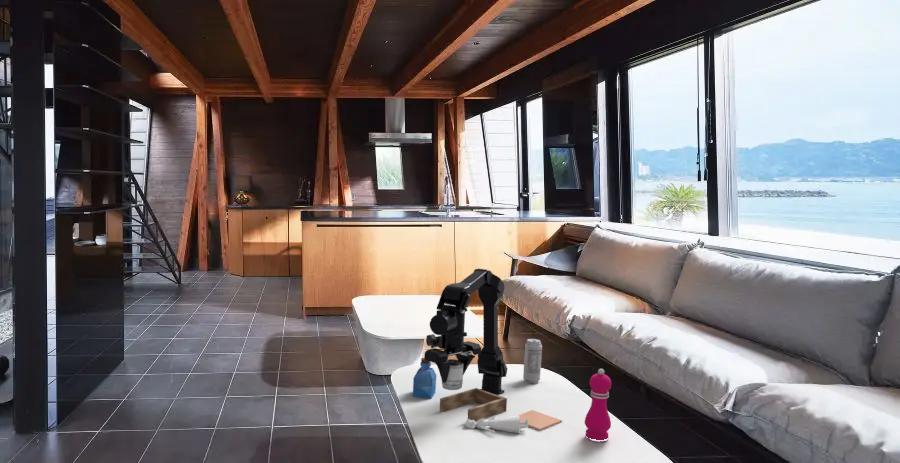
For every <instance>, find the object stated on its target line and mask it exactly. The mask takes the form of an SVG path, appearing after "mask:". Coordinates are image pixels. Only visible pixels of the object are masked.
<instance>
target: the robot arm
mask: <svg viewBox="0 0 900 463" xmlns="http://www.w3.org/2000/svg"><path fill="white" fill-rule="evenodd" d="M476 291H477V295H478V299H479V301H480V302H481V304H482V306H483V308H482V309H483V310H482V311H483V312H482V313H483V319H482V320H483V322H482V323H483V326H482V327H483V346H481V345H480V344H479V343H477V342H473V341H470V340H467V341H465V340H464V339H465V337H467V336H468V332H466V331H465V322H466V321H465V320H466V319H465V318H466V312H468V308H467V306H468V305H469V303H470V302H471V301H472V300H471V299H472V298H471V296H472V295H473V294H474V293H475V292H476ZM504 291H505V283H504V281H503V280H502V278H501V277H499V276H497V275H496V274H494V273H493V272H492V271H491V270H489V269H487V268H475V269H474V270H473V272H472V273H470V274H469V275H468V276H467V277H465V278H464V279H463V280H461V281H460V282H454V283H450V284H447V285H446V286H445V287H444V289H443V290H442V291H441V292H442V293H441V294H440V297H439V300H438V304H437V306H436V314H435V315H433V316H432V317H431V319H430V321H429V328H430V330H431V331H432V333H433V334H427V335H426V339H425V342H426V346H427V347H430V348H431V349H427V350H426V351H424V357H423V358H424V360H427V361H430V362H431V363H434V364H436V368H437V369H438V371H439V375H440V379H441V383H442V382H443V383H446V381H447V378H448V374H449V370H450V366H451V362H450V361H448V360H449V358H450V357H452V356H455V357H456V360H459V361H461V362H462V363H463V376H464V374H465V373H466V371H467V369H468V367H469V366H470V364H471V363H472V362H473V360H474V358H476V355H477V372H478V374H481V375H482V380H481V388H480V389H481V390H484V391H487V392H489V393H492V394H495V395H500V394H503V393H505V390H503V389H502V379H503V378H506V377H507V373H508V366H507V364H506V362H505V360H504V353H503V351H502V349H501V347H500V346H499V302H500V301H501V300H502V298H503V297H504ZM436 335H437V336H436Z"/></svg>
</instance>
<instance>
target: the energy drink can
mask: <svg viewBox="0 0 900 463" xmlns="http://www.w3.org/2000/svg"><path fill="white" fill-rule="evenodd" d="M542 351H543V345H542V342H541V340H540V339H538V338H537V339H536V338H528V339H526V342H525V344H524V355H523V356H524V359H523V376H522V377H523V380H524V382H525V383H526V384H527V383H528V384H538V383H539V381H540V380H541V371H542V368H541V367H542V354H543V353H542Z"/></svg>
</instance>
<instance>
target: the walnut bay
mask: <svg viewBox="0 0 900 463" xmlns="http://www.w3.org/2000/svg"><path fill="white" fill-rule="evenodd" d="M481 389H482V388H477V387H476V388H471V389H467V390H464V391H461V392H458V393H455V394H451V395H448V396H444V397H440V398H439V412H440V413H444V412H448V411H451V410H454V409H457V408H461V407H464V406H467V405H470V404H473V403H479V405H476V406H472V407H470V408H468V409H467V420H468V419H470V420H474V421H475V422H477V421H478V420H479V419H482V418H485V419H486V418H488V419H489V418H491V417H494V416H496V415H499V414H502V413H505V412H507V405H508V398H506V397H504V396H500V395H499V394H497V395H495V394H492V393H489V392H487V391H484V390H481ZM479 421H480V420H479Z"/></svg>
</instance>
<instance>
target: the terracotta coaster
mask: <svg viewBox="0 0 900 463" xmlns="http://www.w3.org/2000/svg"><path fill="white" fill-rule="evenodd" d="M518 415H519V418H520V422H525V421H526V420H527V419H528V427H527V428H531V429H534V430H536V431H540V432H541V431H543V429H544V430H545V429H548V427H549V428H551V427H553V426H555V424H556V425H558V424H561V423H563V419H559V418H557V417H553V416H551V415H549V414H545V413H542V412H540V411H537V410H533V409H531V410H529V411H526V412H524V413H523V412H522V413H521V414H520V413H519V414H517V415H516V416H518ZM560 422H561V423H560ZM557 423H558V424H557ZM550 426H551V427H550Z"/></svg>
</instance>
